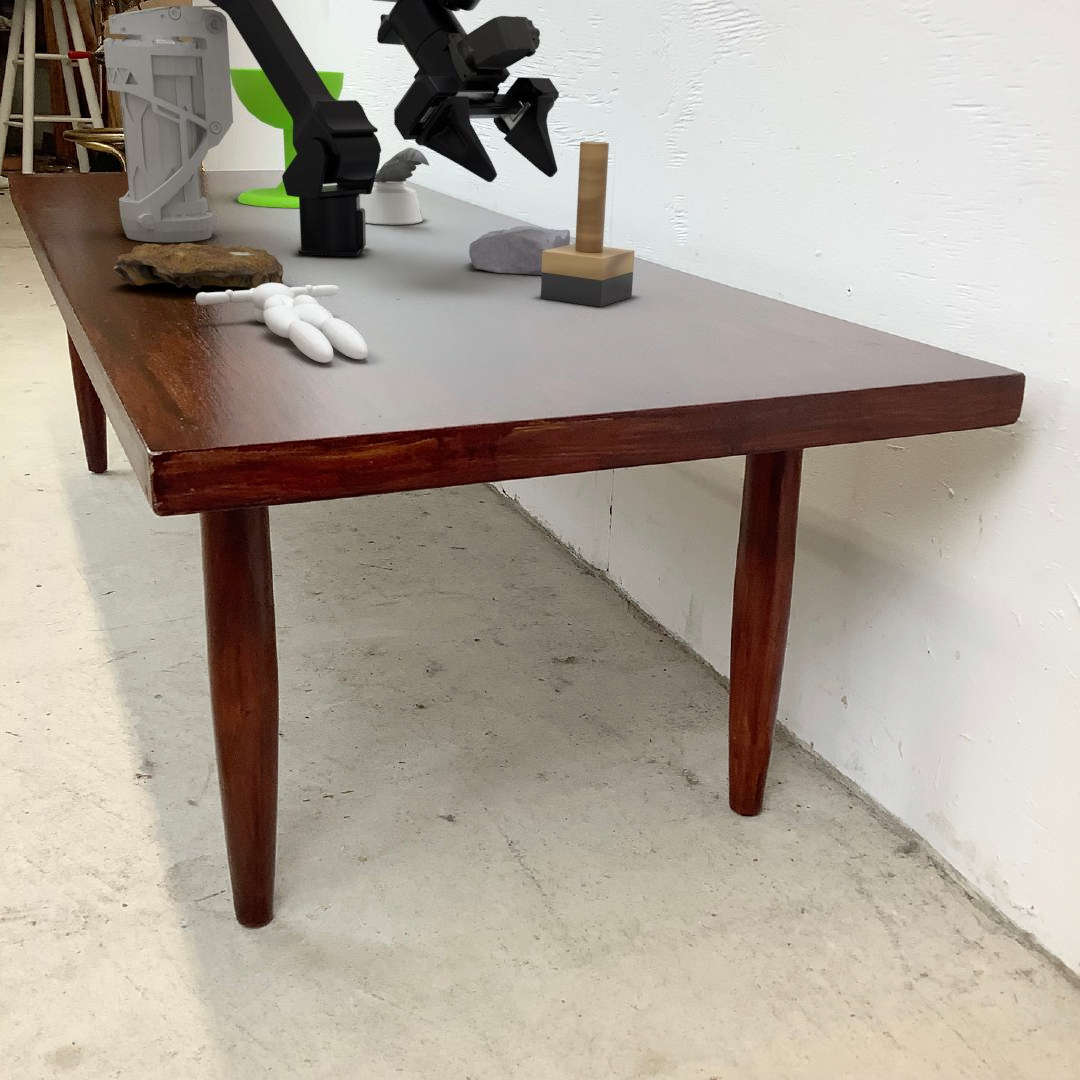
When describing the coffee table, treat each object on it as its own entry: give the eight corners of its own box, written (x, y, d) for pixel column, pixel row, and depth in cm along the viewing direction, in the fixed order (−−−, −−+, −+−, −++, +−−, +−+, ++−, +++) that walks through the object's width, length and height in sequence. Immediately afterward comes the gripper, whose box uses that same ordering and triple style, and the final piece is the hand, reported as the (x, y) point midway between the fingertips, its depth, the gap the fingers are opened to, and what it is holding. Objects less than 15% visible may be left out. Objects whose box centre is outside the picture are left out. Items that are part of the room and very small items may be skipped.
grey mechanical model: (135, 244, 130) (112, -2, 120) (113, 231, 138) (89, 0, 128) (248, 239, 136) (234, 5, 126) (220, 227, 144) (205, 7, 135)
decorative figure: (422, 336, 85) (332, 268, 98) (262, 350, 79) (189, 276, 93) (420, 380, 87) (332, 307, 100) (263, 398, 81) (191, 318, 94)
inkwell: (405, 215, 162) (404, 139, 158) (466, 232, 148) (467, 150, 144) (343, 217, 157) (341, 139, 154) (400, 235, 143) (399, 151, 140)
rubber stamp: (600, 307, 106) (609, 146, 101) (540, 298, 109) (546, 141, 104) (631, 297, 111) (642, 143, 106) (573, 288, 114) (580, 138, 109)
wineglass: (337, 209, 165) (333, 73, 158) (225, 205, 165) (216, 69, 158) (355, 197, 180) (352, 72, 173) (252, 193, 180) (245, 68, 173)
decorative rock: (124, 306, 100) (294, 303, 107) (121, 259, 99) (294, 259, 105) (106, 277, 110) (264, 275, 116) (103, 232, 108) (264, 234, 114)
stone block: (465, 287, 122) (558, 274, 120) (457, 240, 120) (551, 226, 118) (491, 273, 133) (576, 261, 131) (484, 230, 131) (570, 217, 129)
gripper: (416, -26, 100) (510, 118, 98) (548, -11, 114) (633, 116, 112) (354, 69, 108) (441, 204, 106) (485, 72, 121) (564, 192, 120)
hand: (524, 176), depth 111 cm, fingers open, 9 cm apart
